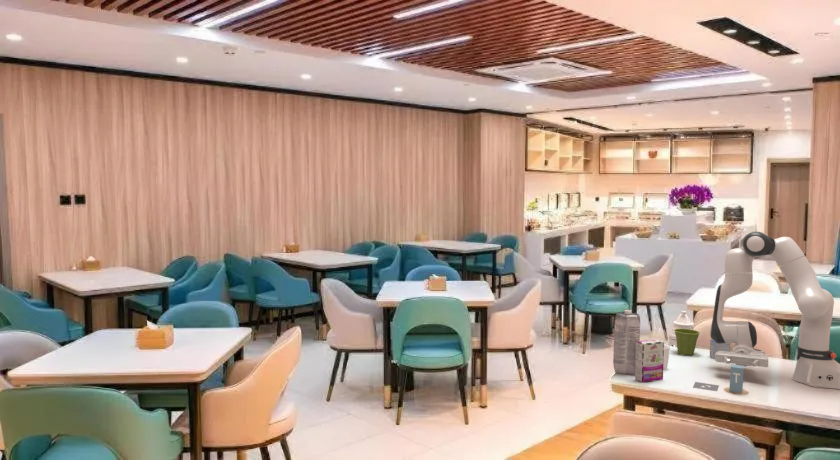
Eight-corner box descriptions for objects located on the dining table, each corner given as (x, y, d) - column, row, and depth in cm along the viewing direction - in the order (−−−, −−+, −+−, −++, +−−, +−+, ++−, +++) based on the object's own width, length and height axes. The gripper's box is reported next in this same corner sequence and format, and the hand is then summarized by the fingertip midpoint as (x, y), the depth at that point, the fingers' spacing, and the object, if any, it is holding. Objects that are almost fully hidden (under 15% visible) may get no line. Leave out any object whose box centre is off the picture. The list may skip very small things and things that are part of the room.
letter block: (742, 390, 259) (743, 365, 259) (741, 393, 255) (743, 368, 255) (730, 388, 262) (731, 364, 261) (729, 391, 257) (730, 366, 257)
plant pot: (697, 358, 310) (698, 334, 309) (671, 354, 316) (672, 331, 315) (700, 352, 320) (701, 330, 320) (675, 349, 326) (676, 327, 325)
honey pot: (695, 349, 327) (697, 314, 326) (668, 346, 332) (670, 311, 331) (695, 343, 339) (696, 309, 338) (668, 341, 344) (670, 307, 343)
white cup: (650, 370, 288) (651, 347, 287) (649, 365, 296) (649, 343, 295) (669, 371, 286) (670, 349, 286) (667, 366, 294) (668, 345, 293)
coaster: (749, 390, 261) (749, 389, 261) (748, 396, 253) (748, 395, 253) (724, 386, 265) (724, 386, 265) (722, 392, 257) (722, 391, 257)
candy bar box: (654, 376, 277) (656, 339, 276) (663, 380, 273) (665, 341, 272) (633, 379, 273) (635, 340, 272) (642, 382, 269) (643, 343, 268)
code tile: (719, 386, 266) (719, 385, 266) (717, 392, 258) (717, 391, 258) (695, 382, 270) (695, 381, 270) (692, 388, 262) (692, 387, 262)
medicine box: (726, 357, 313) (727, 339, 312) (729, 359, 308) (730, 341, 308) (709, 356, 314) (710, 338, 313) (712, 359, 309) (713, 341, 308)
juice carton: (638, 376, 278) (640, 313, 276) (612, 373, 281) (614, 311, 279) (638, 370, 286) (640, 310, 284) (613, 368, 290) (615, 308, 288)
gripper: (715, 346, 286) (713, 352, 274) (768, 351, 276) (768, 358, 264) (715, 360, 286) (712, 367, 274) (768, 365, 276) (767, 373, 264)
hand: (740, 363), depth 269 cm, fingers open, 8 cm apart
